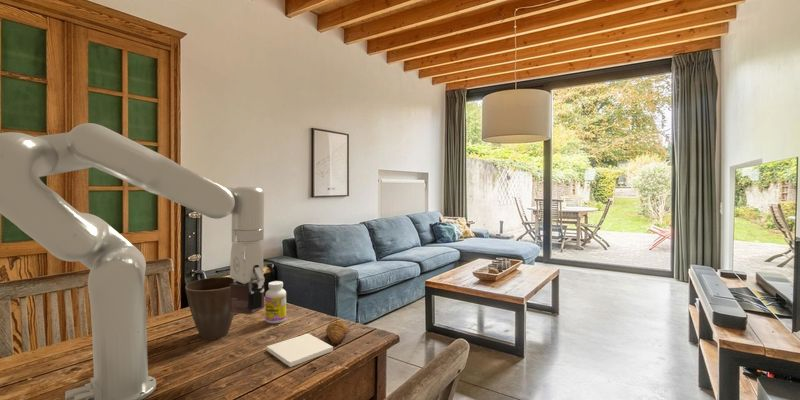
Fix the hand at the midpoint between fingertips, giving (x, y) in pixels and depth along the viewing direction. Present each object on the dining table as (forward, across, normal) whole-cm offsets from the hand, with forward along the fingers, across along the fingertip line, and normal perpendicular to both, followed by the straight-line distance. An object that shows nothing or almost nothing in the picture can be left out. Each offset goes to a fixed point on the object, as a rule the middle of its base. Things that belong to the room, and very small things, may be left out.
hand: (247, 304), depth 96 cm
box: (+2, 0, 0) cm, 2 cm away
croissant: (+16, +1, +27) cm, 31 cm away
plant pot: (+16, -26, +1) cm, 30 cm away
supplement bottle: (+16, -24, +20) cm, 35 cm away
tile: (+15, +2, +14) cm, 21 cm away
